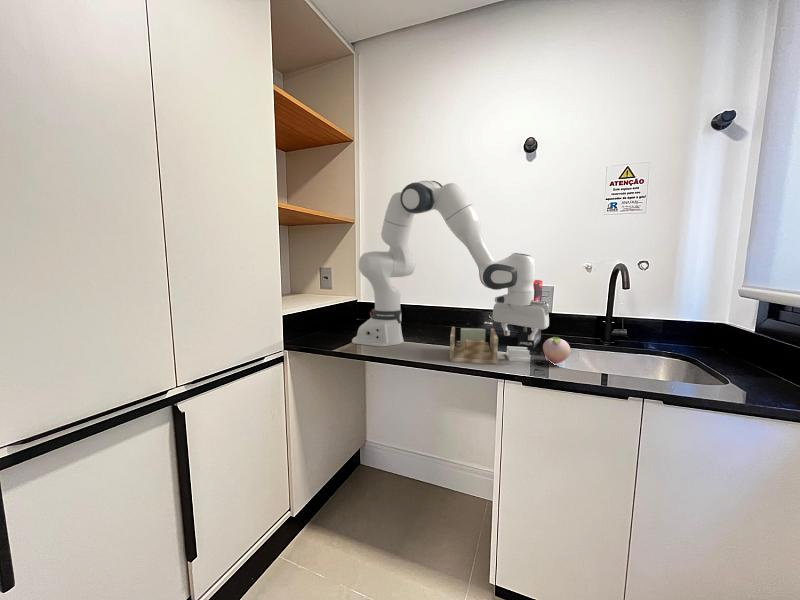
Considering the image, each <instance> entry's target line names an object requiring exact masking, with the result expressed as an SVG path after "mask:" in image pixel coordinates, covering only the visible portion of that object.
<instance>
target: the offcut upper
mask: <svg viewBox="0 0 800 600" xmlns="http://www.w3.org/2000/svg"><path fill="white" fill-rule="evenodd" d="M465 348H466V350H476V351H484V341H483V340H469V339H466V340H465Z"/></svg>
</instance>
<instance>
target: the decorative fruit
mask: <svg viewBox="0 0 800 600" xmlns="http://www.w3.org/2000/svg"><path fill="white" fill-rule="evenodd" d="M542 350H543V353H544V356H545V357H546V358H547V360H549V361H550V362H551V363H553V364H554V365H556V364H559V363H562V362H564V361H566V360H567V359H568V358H569V356H570V355H571V346H570V345H569V343H568V341H566V340H564V339H562V338H560V337H558V335H555V336H553V337H550V338H548V339H546V340H545V341H544V343H543V344H542Z"/></svg>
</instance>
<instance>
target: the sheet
mask: <svg viewBox="0 0 800 600" xmlns="http://www.w3.org/2000/svg"><path fill="white" fill-rule="evenodd" d="M466 339H469V340H483V341H484V345H485V343H486V329H485V328H467V327H466V328H465V327H461V328H460V341H461V342H460V344H465V340H466Z"/></svg>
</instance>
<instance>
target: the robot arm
mask: <svg viewBox="0 0 800 600" xmlns="http://www.w3.org/2000/svg"><path fill="white" fill-rule="evenodd" d="M432 210H434V211H435V210H436V211H437V212H439V214H440V216H441V217H442V218H443V220H444V222H445V224H446V227H448V228H449V231H451V232H452V234H453V235H454V236H455V237H456V238H457V239H458V240H459V241H460V242H461V243H462V244H463V245H464V246H465V247H466V249H467V250H468V252H469V253H470V255H471V257H472V259H473V260H474V262H475V264H476V266H477V268H478V274H479V275H478V276H479V281H480V283H481V284H482V285H483V286H484V287H485V288H487V289H491V290H494V291H500V290H502V289H507V294H503V295H499V296H496V297H494V302H495V304H493V309H492V320H493V321H494V322H496V323H501V328H502V330H503V335H504V336H507V337H508V336H510V335H511V330H509V328H508V325H514V326H518V325H519V326H525V327H531V331H533V332H532V333H531V334H530V335H528V340H534V335H535V334H536V333H537V331H538V329H541V330H545V329H548V327H549V326H550V317H549V315H550V314H549V313H550V305H549V304H548V303H546V302H545V301H542V302H539V301H534V287H533V284H534V281H535V280H536V261H535V258H533V256H532V255H529V254H525V253H521V252H520V253H518V252H514V253H511V254H510V255H509V256H507V257H505V258H503V259H500V260H499V261H496V260H495V259H494V258H493V256H492V254H491V253H490V251H489V249H488V247H487V245H486V244H485V242H484V240H483V238H482V232H481V221H480V217H479V215H478V213H477V210H476V208H475V206H474V205H473V203H472V202H471V200H470V198H469V197H468V196H467V195H466V193H465V192H464V190H463V189H462V188H461V187H460V186H459V185H458V184H456V183H454V182H453V183H452V182H449V183H446V184H443V185H442V184H441V183H440V182H438V181H436V180H421V181H417V182H416V181H415V182H411V183H409V184H407V185H406V186H405V187H404V188H403V189H402V190H401V191H400V192H399V191H398V192H395V193H393V194H392V195H391V197H390V199H389V202H388V204H387V207H386V211H385V215H384V219H383V224H382V227H381V233H380V235H381V239H382V242H384V243H385V244H386V245H387V246H389V250H388V251H378V250H377V251H369V252H365V253H362V254H361V256H359V260H358V269H359V272H360V273H361V275H362V276H363V277H365V278H366V279H367V280H368V282H369V283H370V285H371V288H372V290H373V294H374V295H373V297H374V308H372V309H371V310H370V311H369V315H370V318H369V319H367V320H366V321H365V322H364V323H362V324H361V325H360V326H359V327H358V330H357V333H356V336H354V337H353V338H351V343H352V344H353V345H354V344H356V345H364V346H371V347H373V346H374V347H383V348H384V347H389V346H395V345H396V346H397V345H400V344H403V343H404V341H405V340H404V337H403V332H402V325H401V324H402V309H401V292H400V290H399V289H398V288H397V287H396V286H394V285H392V284H391V282H390V278H403V277H409V276H411V275H412V274H414V271H415V270H416V259H415V257H414V256H413V254H412V253H411V252H410V249H409V243H408V242H409V236H410V231H411V228H412V224H413V221H414V220H413V219H414V216H415V214H416V215H417V214H424V213H428V212H431V211H432ZM539 304H540V305H539Z"/></svg>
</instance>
